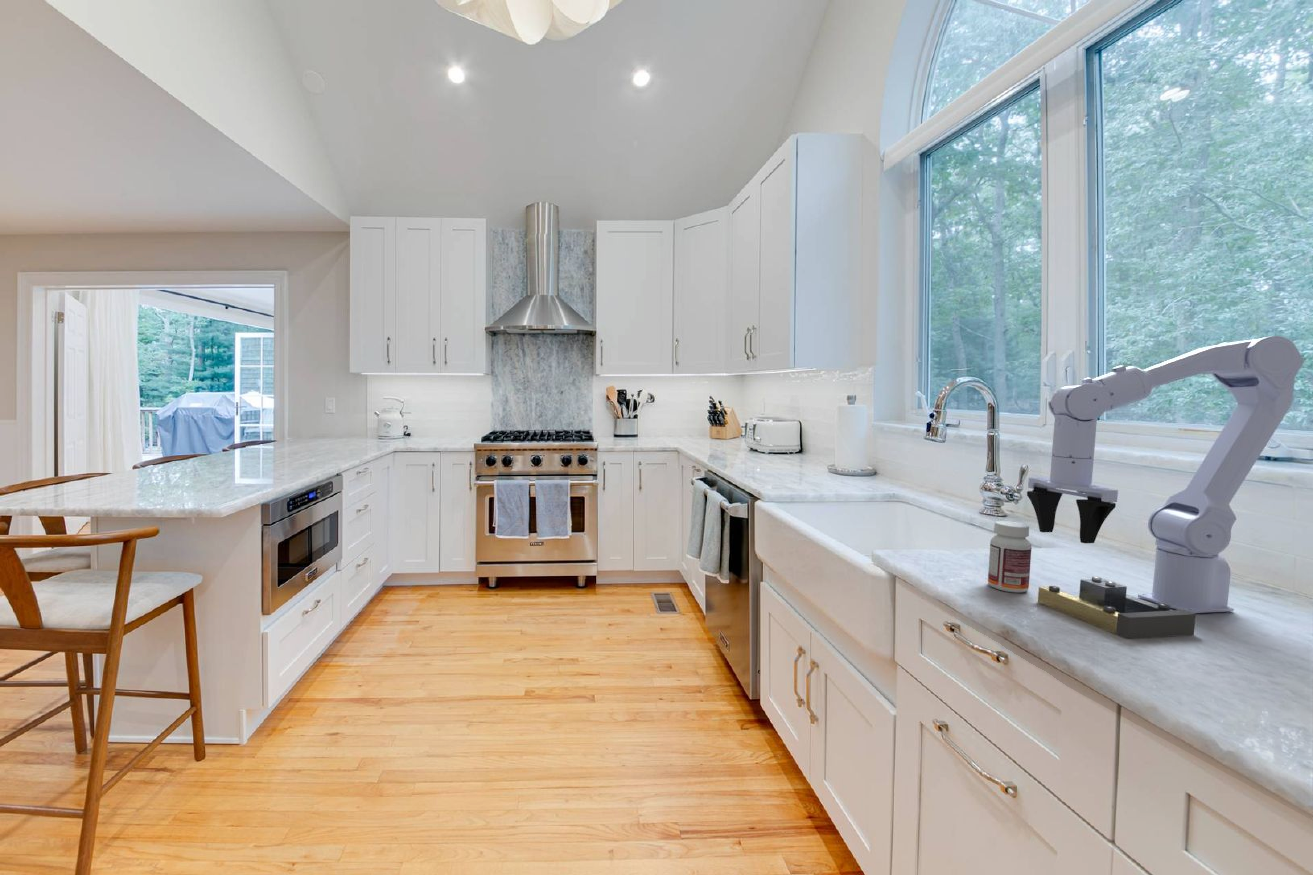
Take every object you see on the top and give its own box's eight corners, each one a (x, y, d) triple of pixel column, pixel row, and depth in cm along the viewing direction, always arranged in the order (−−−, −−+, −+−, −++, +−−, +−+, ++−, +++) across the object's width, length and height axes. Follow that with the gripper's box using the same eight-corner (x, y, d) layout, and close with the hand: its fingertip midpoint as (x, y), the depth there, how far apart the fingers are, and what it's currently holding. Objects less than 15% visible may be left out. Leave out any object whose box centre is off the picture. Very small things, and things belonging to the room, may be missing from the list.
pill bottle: (1035, 590, 99) (1040, 525, 99) (1016, 595, 96) (1021, 528, 96) (998, 580, 105) (1003, 519, 104) (980, 585, 102) (984, 521, 101)
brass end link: (1047, 601, 94) (1048, 582, 94) (1126, 633, 81) (1128, 612, 81) (1037, 601, 94) (1039, 583, 93) (1116, 634, 81) (1118, 612, 81)
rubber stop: (1181, 630, 83) (1183, 609, 83) (1193, 634, 82) (1195, 613, 81) (1116, 634, 81) (1117, 613, 81) (1127, 638, 79) (1129, 617, 79)
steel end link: (1096, 599, 96) (1097, 581, 96) (1181, 630, 83) (1183, 609, 83) (1087, 599, 95) (1088, 581, 95) (1171, 630, 83) (1173, 609, 83)
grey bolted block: (1099, 609, 91) (1101, 575, 91) (1124, 618, 87) (1127, 583, 87) (1078, 610, 90) (1080, 576, 90) (1102, 620, 86) (1105, 584, 86)
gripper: (1016, 452, 102) (1010, 527, 103) (1095, 461, 88) (1087, 548, 89) (1048, 453, 104) (1043, 527, 105) (1131, 462, 90) (1123, 547, 91)
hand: (1065, 537), depth 97 cm, fingers open, 7 cm apart
